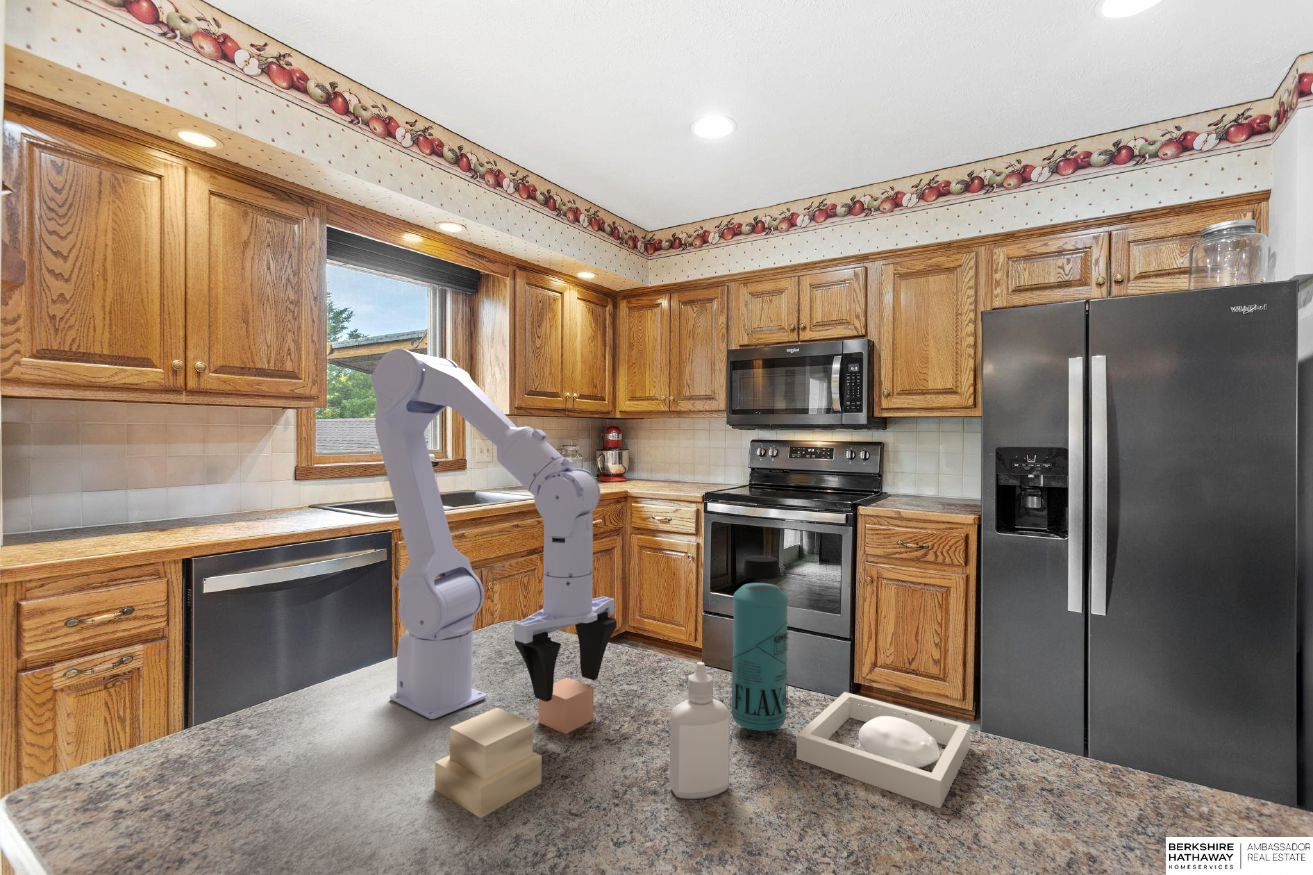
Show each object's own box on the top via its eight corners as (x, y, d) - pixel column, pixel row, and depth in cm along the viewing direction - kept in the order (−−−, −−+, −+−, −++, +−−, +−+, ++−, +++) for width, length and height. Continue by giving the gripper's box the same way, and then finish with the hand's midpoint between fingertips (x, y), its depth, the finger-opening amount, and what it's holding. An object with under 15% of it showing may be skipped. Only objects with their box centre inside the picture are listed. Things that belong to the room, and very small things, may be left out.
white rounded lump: (952, 764, 64) (952, 728, 64) (920, 787, 60) (921, 749, 60) (881, 735, 70) (881, 702, 70) (848, 754, 66) (848, 719, 66)
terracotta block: (538, 723, 72) (539, 689, 72) (566, 710, 75) (566, 677, 75) (565, 734, 69) (566, 699, 69) (593, 720, 73) (593, 686, 73)
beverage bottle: (723, 738, 68) (725, 559, 68) (738, 713, 75) (740, 549, 75) (781, 750, 66) (784, 564, 66) (792, 723, 72) (794, 554, 72)
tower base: (434, 793, 58) (435, 761, 58) (495, 762, 63) (495, 733, 63) (480, 822, 54) (481, 788, 54) (541, 786, 59) (541, 755, 59)
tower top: (449, 758, 58) (449, 727, 58) (496, 736, 63) (497, 707, 63) (485, 779, 55) (485, 746, 55) (532, 754, 59) (532, 723, 59)
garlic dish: (796, 758, 64) (796, 734, 64) (844, 712, 75) (844, 691, 75) (940, 808, 56) (940, 781, 56) (970, 747, 67) (970, 725, 67)
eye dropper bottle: (726, 806, 56) (728, 674, 56) (666, 798, 57) (667, 669, 57) (730, 779, 60) (732, 657, 60) (674, 773, 61) (675, 653, 61)
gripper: (545, 589, 64) (544, 719, 64) (633, 566, 76) (632, 677, 75) (502, 579, 68) (501, 701, 68) (591, 559, 80) (590, 664, 80)
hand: (567, 687), depth 72 cm, fingers open, 7 cm apart
